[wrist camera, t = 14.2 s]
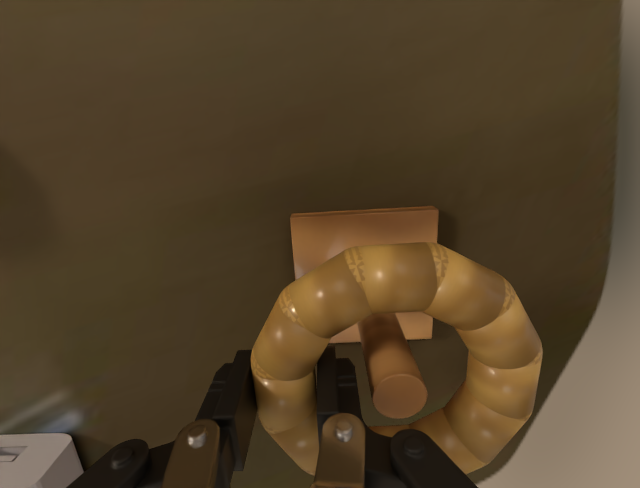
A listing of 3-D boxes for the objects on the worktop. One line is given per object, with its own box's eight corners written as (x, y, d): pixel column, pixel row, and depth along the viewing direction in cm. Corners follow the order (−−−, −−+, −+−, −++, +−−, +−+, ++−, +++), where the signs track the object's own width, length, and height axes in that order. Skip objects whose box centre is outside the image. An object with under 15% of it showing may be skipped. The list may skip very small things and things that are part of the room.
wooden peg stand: (291, 213, 21) (261, 290, 11) (432, 205, 21) (545, 276, 10) (301, 334, 24) (286, 492, 13) (426, 328, 24) (511, 483, 13)
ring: (243, 244, 13) (226, 268, 10) (532, 226, 12) (581, 247, 10) (273, 458, 16) (265, 513, 14) (501, 447, 16) (532, 500, 13)
